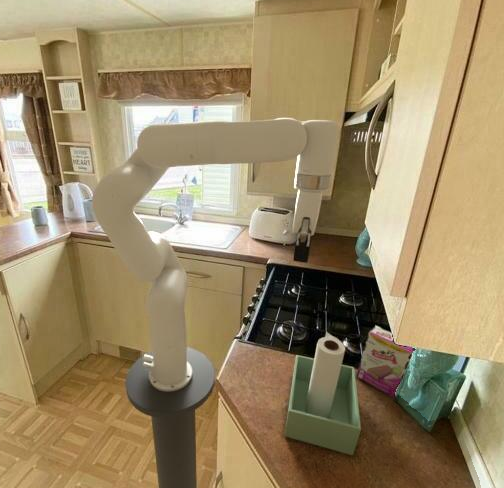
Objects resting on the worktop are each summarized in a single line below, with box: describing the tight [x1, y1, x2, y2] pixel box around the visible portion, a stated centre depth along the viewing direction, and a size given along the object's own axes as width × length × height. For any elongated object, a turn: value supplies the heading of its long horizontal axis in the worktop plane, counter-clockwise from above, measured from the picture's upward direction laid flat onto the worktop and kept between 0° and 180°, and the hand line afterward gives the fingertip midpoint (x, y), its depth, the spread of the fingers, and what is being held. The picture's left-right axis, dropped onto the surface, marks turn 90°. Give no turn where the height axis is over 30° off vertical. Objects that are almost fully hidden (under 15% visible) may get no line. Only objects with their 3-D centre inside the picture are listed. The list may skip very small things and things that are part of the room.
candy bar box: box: [355, 325, 417, 399], centre depth 86 cm, size 11×5×16 cm, turn 44°
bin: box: [284, 354, 362, 456], centre depth 78 cm, size 15×19×9 cm
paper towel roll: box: [305, 331, 346, 418], centre depth 75 cm, size 7×6×21 cm
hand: (301, 253), depth 76 cm, fingers open, 9 cm apart
